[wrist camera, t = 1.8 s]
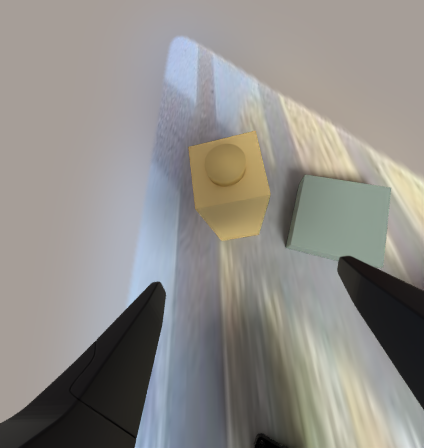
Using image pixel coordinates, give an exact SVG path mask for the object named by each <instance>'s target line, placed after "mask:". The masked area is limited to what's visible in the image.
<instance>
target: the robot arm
mask: <svg viewBox="0 0 424 448" xmlns="http://www.w3.org/2000/svg"><path fill="white" fill-rule="evenodd" d="M337 271H338V274H339V276H340V278H341V280H342V282H343V284H344V286H345V288H346V290H347V292H348V294H349V295H350V297H351V299H352V301H353V303H354V305H355V306H356V308H357V310H358V311H359V313H360V314H361V316H362V317H363V319H364V320H365V322H366V323H367V325H368V326H369V328H370V329H371V331H372V332H373V334H374V335H375V337H376V338H377V340H378V341H379V343H380V344H381V346H382V347H383V349H384V350H385V352H386V353H387V355H388V357H389V358H390V360H391V361H392V363H393V364H394V366H395V367H396V369H397V370H398V372H399V373H400V375H401V376H402V378H403V379H404V381H405V382H406V384H407V385H408V387H409V388H410V390H411V391H412V393H413V394H414V396H415V397H416V399H417V400H418V402H419V403H420V405H421V407H422V408H423V410H424V291H422V290H420V289H418V288H416V287H414V286H412V285H410V284H408V283H406V282H404V281H402V280H400V279H398V278H396V277H394V276H391V275H389V274H387V273H385V272H383V271H381V270H379V269H377V268H375V267H373V266H371V265H369V264H367V263H365V262H363V261H360V260H358V259H356V258H354V257H352V256H341V257H340V258H339V262H338V268H337ZM165 299H166V292H165V290H164V288H163V286H162V284H161V282H153V283H151V284H150V285H149V286H148V287H147V288H146V289H145V290H144V291H143V292H142V293H141V294H140V295H139V297H138V298H137V299H136V300H135V301H134V302H133V303H132V304H131V305H130V306H129V307H128V308H127V309H126V310H125V311H124V312H123V313H122V314H121V315H120V316H119V317H118V318H117V319H116V320H115V321H114V322H113V323H112V324H111V325H110V327H108V329H106V331H105V332H104V333H103V334H102V335H101V336H100V337H99V338H98V339H97V341H95V342H94V343H93V344H92V345H91V346H90V347H89V348H88V349H87V350H86V351H85V352H84V353H83V354H82V355H81V356H80V357H79V358H78V359H77V360H76V361H75V362H74V363H73V364H72V365H71V366H70V367H69V368H68V369H67V370H66V371H64V372H63V373H62V374H61V375H60V376H59V377H58V378H57V379H56V380H55V381H54V382H52V384H50V385H49V386H48V387H47V388H46V389H45V390H44V391H43V392H42V393H41V394H39V395H38V396H37V397H36V398H35V399H34V400H33V401H32V402H31V403H30V404H29V405H27V406H26V407H25V408H24V409H23V410H21V411H20V412H19V413H17V414H15V415H14V416H12V417H11V418H9V419H8V420H6V421H4V422H2V423H0V448H134V447H135V443H136V438H137V434H138V429H139V425H140V420H141V416H142V412H143V407H144V403H145V398H146V394H147V390H148V385H149V381H150V376H151V372H152V368H153V363H154V359H155V354H156V350H157V346H158V341H159V337H160V332H161V328H162V323H163V315H164V307H165ZM261 440H262V441H263V442H264V443H263V444H261V443H260V442H259V441H261ZM253 448H288V447H286V446H284V445H280V444H278V443H277V442H275V441H274V440H272V439H270V438H269V437H267V436H265V435H264V434H261V433H260V434H258V435H257V436H256V440H255V443H254V447H253Z"/></svg>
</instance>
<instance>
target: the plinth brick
mask: <svg viewBox="0 0 424 448" xmlns="http://www.w3.org/2000/svg"><path fill="white" fill-rule="evenodd" d="M390 195H391V188H389V187H383V186H376V185H370V184H363V183H357V182H351V181H344V180H338V179H331V178H325V177H318V176H312V175H305V176H304V177H303V179H302V181H301V182H300V184H299V187H298V192H297V197H296V202H295V207H294V211H293V216H292V221H291V226H290V230H289V235H288V240H287V245H286V248H288V249H292V250H296V251H300V252H304V253H308V254H312V255H316V256H320V257H324V258H328V259H332V260H336V261H339V258H340V257H341V256H352V257H354V258H356V259H358V260H360V261H363V262H365V263H367V264H369V265H371V266H373V267H375V268H383V263H384V253H385V243H386V234H387V224H388V214H389V204H390Z"/></svg>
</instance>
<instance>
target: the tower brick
mask: <svg viewBox="0 0 424 448" xmlns="http://www.w3.org/2000/svg"><path fill="white" fill-rule="evenodd" d="M188 148H189V157H190V166H191V175H192V184H193V193H194V202H195V209H196V211H197V212H198V213H199V214H200V215H201V217H202V218H203V219H204V220H205V221H206V223H207V224H208V225H209V226H210V227H211V229H212V230H213V231H214V232H215V233H216V235H217V236H218V237H219V238H220V239H221V241H224V240H230V239H236V238H242V237H248V236H254V235H259V232H260V229H261V225H262V222H263V219H264V215H265V212H266V209H267V205H268V202H269V199H270V195H271V194H270V189H269V185H268V181H267V177H266V173H265V168H264V164H263V160H262V156H261V151H260V147H259V143H258V139H257V135H256V131H252V132H248V133H244V134H240V135H236V136H232V137H227V138H223V139H219V140H215V141H211V142H207V143H203V144H199V145H195V146H190V147H188Z"/></svg>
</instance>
